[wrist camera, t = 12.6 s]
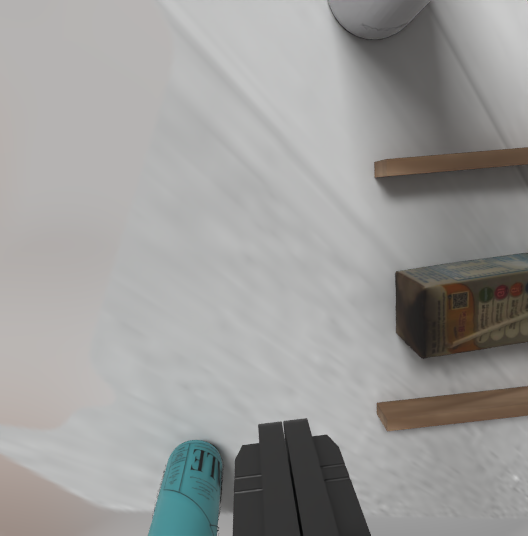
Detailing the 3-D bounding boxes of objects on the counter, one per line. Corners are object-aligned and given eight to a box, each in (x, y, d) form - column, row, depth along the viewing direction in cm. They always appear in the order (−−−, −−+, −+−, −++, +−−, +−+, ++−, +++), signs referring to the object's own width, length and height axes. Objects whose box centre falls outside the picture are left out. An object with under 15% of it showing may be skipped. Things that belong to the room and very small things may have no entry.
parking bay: (374, 162, 34) (388, 158, 31) (589, 144, 35) (625, 138, 31) (376, 413, 40) (388, 433, 37) (557, 393, 41) (585, 411, 38)
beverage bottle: (165, 470, 40) (90, 729, 21) (176, 423, 39) (108, 652, 20) (218, 479, 41) (194, 737, 22) (231, 433, 40) (217, 664, 20)
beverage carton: (554, 313, 39) (615, 337, 33) (392, 336, 39) (421, 365, 32) (559, 245, 37) (625, 257, 31) (389, 269, 37) (419, 286, 30)
